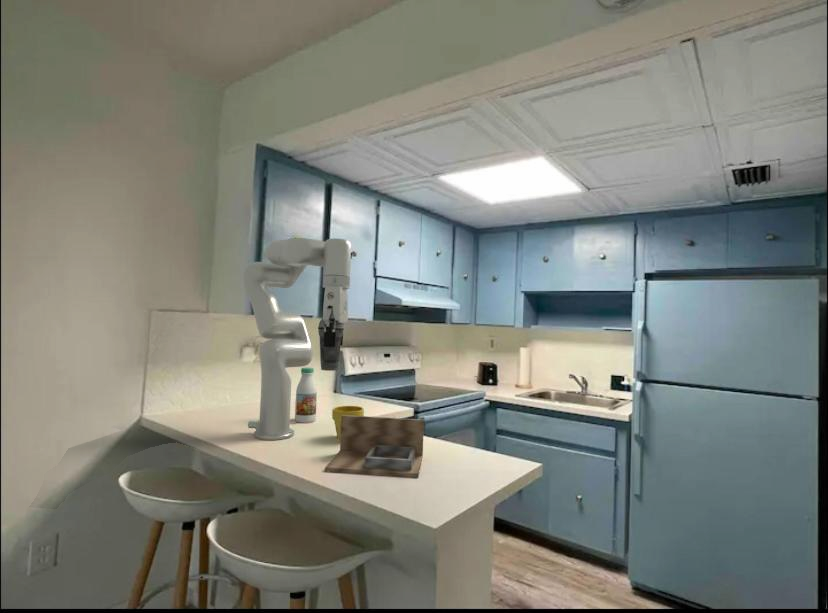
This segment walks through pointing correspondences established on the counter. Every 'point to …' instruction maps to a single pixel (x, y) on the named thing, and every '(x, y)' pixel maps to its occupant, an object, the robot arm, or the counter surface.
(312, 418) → the milk bottle
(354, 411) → the plant pot
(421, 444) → the cup bracket
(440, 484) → the counter surface
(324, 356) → the beverage cup
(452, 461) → the counter surface
